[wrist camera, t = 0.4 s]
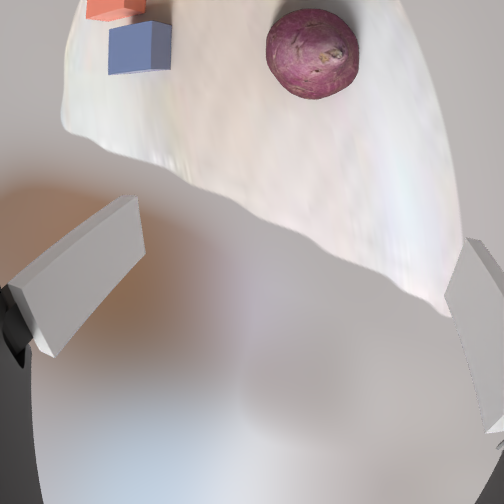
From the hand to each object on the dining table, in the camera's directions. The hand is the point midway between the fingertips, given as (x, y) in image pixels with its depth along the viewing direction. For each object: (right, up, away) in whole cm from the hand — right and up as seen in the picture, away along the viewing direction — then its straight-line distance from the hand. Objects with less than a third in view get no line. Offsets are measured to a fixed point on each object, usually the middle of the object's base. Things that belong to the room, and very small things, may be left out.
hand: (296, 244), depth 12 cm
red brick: (-18, +33, +17) cm, 41 cm away
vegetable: (+5, +21, +18) cm, 28 cm away
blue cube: (-14, +25, +21) cm, 36 cm away
